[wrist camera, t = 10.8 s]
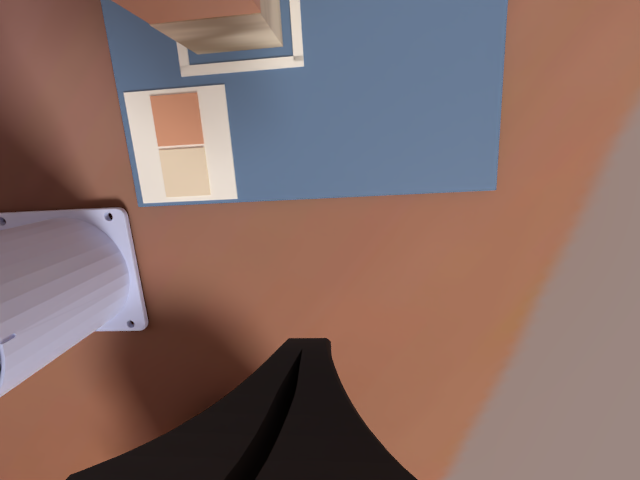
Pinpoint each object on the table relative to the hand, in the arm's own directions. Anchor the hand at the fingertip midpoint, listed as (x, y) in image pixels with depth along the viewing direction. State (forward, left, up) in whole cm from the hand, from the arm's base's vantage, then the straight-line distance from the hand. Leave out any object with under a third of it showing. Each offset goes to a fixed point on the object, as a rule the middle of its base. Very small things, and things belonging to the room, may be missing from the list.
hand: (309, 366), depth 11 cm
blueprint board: (-1, +11, -10) cm, 15 cm away
